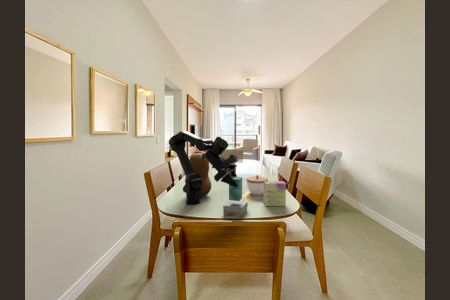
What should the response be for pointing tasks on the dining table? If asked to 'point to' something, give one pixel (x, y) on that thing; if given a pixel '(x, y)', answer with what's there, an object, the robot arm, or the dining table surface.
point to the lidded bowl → (256, 185)
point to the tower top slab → (235, 206)
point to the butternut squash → (201, 172)
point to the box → (274, 193)
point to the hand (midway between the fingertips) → (238, 185)
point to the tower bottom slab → (234, 213)
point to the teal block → (236, 189)
